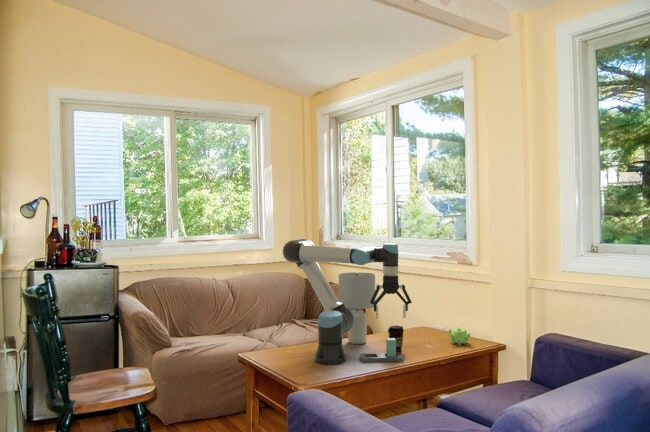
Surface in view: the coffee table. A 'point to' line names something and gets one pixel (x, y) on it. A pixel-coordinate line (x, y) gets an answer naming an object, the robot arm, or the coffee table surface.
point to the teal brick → (391, 347)
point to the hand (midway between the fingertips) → (390, 318)
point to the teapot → (459, 336)
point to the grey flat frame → (380, 357)
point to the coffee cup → (397, 336)
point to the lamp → (357, 301)
